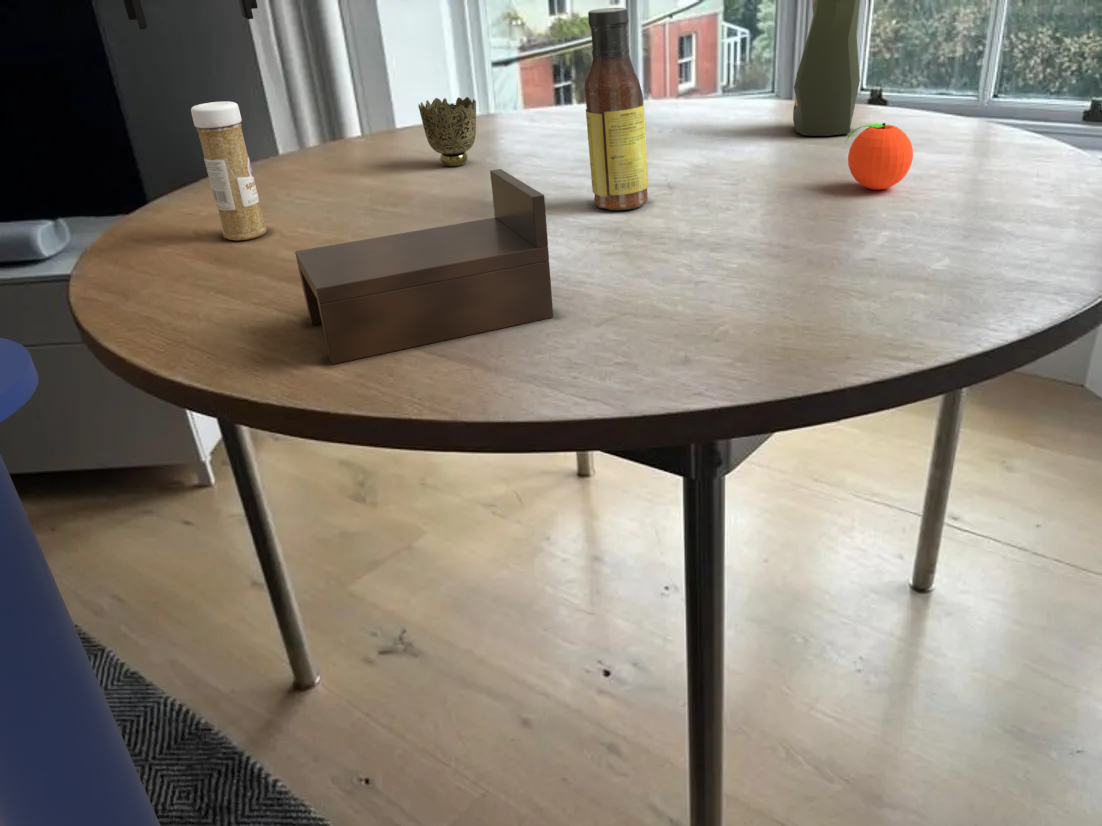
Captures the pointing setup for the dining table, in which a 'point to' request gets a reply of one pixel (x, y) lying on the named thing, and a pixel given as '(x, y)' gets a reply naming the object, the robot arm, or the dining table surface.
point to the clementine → (880, 156)
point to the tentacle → (828, 70)
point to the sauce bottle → (615, 116)
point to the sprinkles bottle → (229, 169)
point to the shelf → (433, 279)
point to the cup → (450, 128)
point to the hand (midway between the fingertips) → (196, 22)
